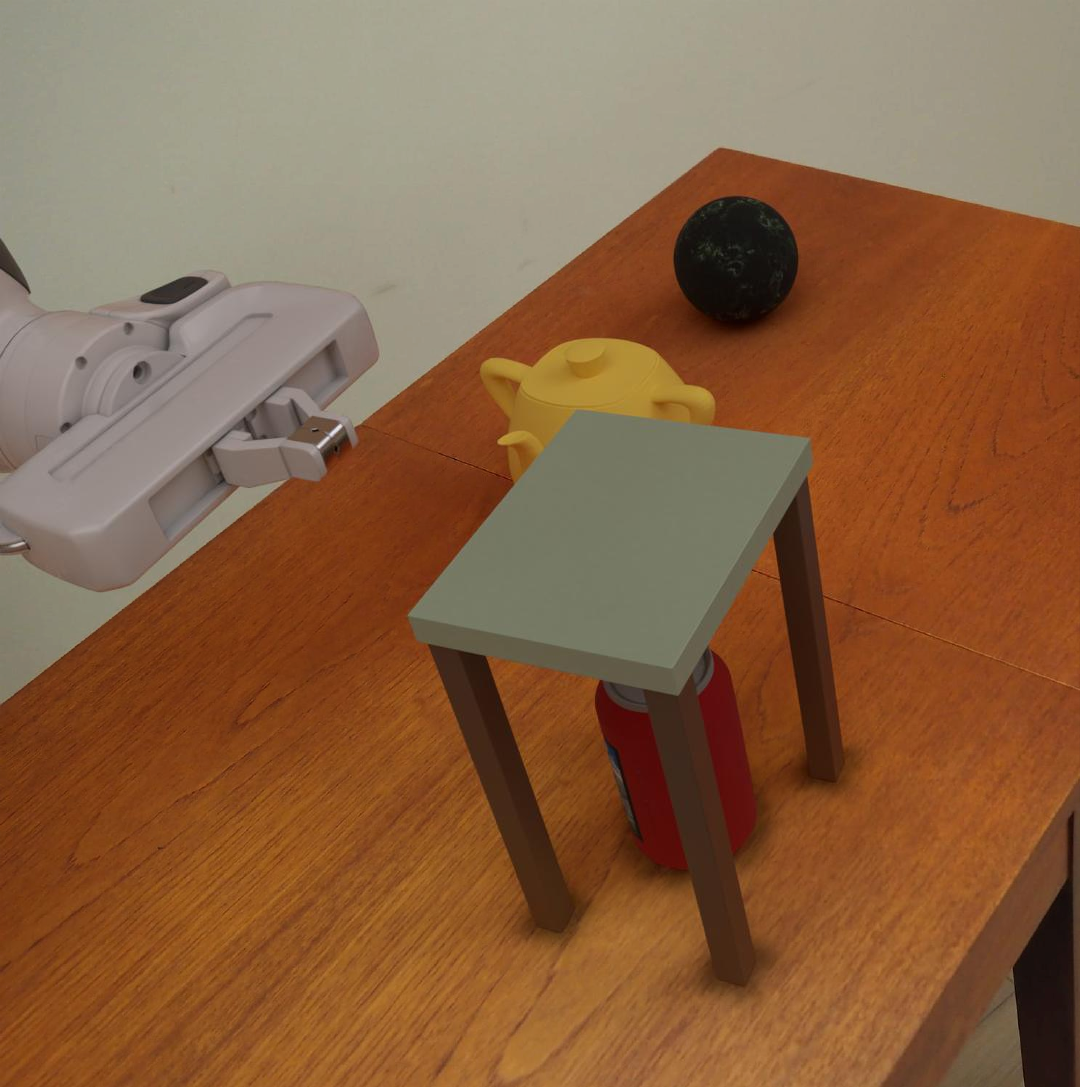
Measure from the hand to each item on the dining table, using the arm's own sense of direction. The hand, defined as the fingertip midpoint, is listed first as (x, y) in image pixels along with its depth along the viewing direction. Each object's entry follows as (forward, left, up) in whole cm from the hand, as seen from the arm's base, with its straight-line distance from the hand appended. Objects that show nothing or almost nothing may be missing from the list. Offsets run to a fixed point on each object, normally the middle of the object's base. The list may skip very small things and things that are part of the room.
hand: (336, 449), depth 62 cm
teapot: (+18, +18, -24) cm, 35 cm away
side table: (+9, -11, -24) cm, 27 cm away
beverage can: (+9, -10, -24) cm, 27 cm away
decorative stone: (+39, +34, -24) cm, 57 cm away
